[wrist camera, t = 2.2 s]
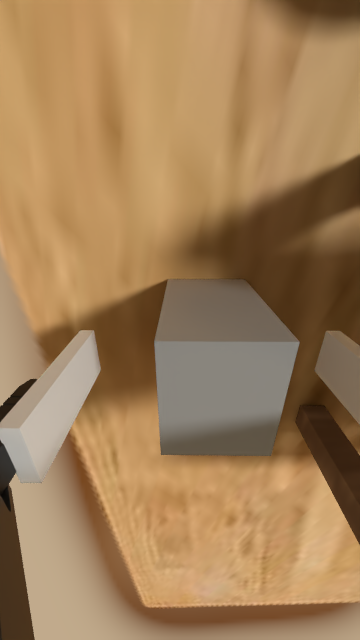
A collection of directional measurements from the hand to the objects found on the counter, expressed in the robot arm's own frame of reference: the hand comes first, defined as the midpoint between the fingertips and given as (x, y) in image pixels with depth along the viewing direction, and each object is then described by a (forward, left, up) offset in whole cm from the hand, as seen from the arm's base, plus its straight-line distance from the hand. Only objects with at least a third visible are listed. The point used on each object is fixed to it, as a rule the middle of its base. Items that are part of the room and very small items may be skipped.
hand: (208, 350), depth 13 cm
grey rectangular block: (0, 0, -4) cm, 4 cm away
